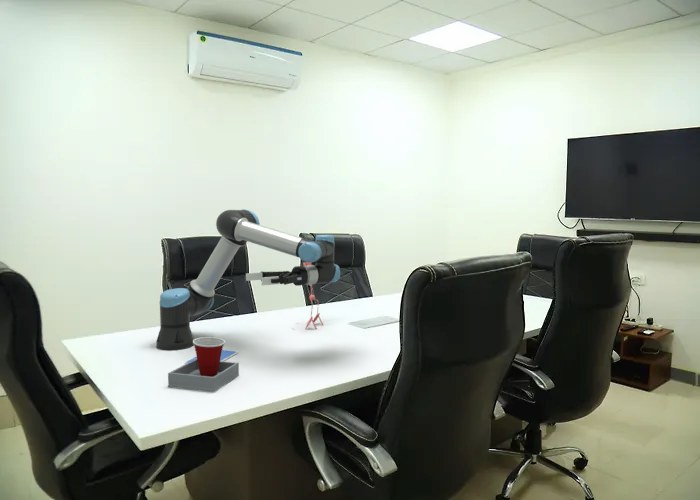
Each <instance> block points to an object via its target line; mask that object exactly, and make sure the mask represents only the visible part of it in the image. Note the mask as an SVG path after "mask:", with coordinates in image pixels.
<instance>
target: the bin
mask: <svg viewBox="0 0 700 500" xmlns="http://www.w3.org/2000/svg"><path fill="white" fill-rule="evenodd" d="M239 366H240V365H239V362H235V361H234V362H233V361H220V364H219V368H218V373H217V375H215V376H212V377H209V376H201V375H200V371H199V366H198V361H197V359H195V360H193V361H191V362H189V363H187V364H185V363H184V365H181V366H179V367H177V368H176V369H173V370H171V371H170V372H168V373H167V377H168V378H167V382H168V383H167V385H168V386H167V387H168V388H176V389H177V388H179V389H185V390H193V391H194V390H195V391H203V392H211V393H215V392H217V391H218V390H220V389H221V388H223V386H225V385H227V384H229V383H230V382H231V381H233V380H234V379H235V378H238V376H239V375H240V373H239V371H240V369H239V368H240V367H239Z"/></svg>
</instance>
